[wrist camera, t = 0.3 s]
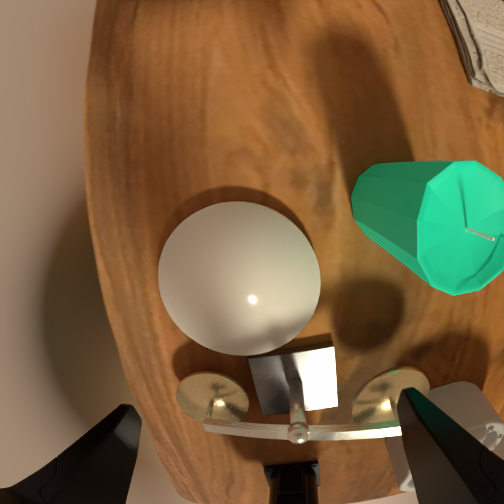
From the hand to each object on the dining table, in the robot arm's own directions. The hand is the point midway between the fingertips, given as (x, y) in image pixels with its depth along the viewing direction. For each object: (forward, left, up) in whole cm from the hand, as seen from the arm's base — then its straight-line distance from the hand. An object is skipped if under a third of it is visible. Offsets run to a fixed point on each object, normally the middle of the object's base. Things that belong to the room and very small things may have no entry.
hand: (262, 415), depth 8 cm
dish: (0, +3, -14) cm, 14 cm away
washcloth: (+18, -28, -15) cm, 37 cm away
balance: (-10, 0, -14) cm, 17 cm away
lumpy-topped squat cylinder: (-21, -16, -14) cm, 31 cm away
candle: (+4, -9, -14) cm, 18 cm away
